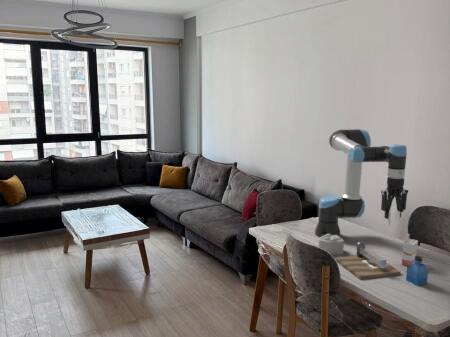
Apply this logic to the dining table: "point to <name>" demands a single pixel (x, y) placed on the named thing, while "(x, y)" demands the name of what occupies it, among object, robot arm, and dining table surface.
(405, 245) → the ink cartridge box
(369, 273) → the label board
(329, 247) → the lumpy-topped squat cylinder
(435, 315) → the dining table surface
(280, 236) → the dining table surface
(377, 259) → the swing bar
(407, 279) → the perfume bottle
